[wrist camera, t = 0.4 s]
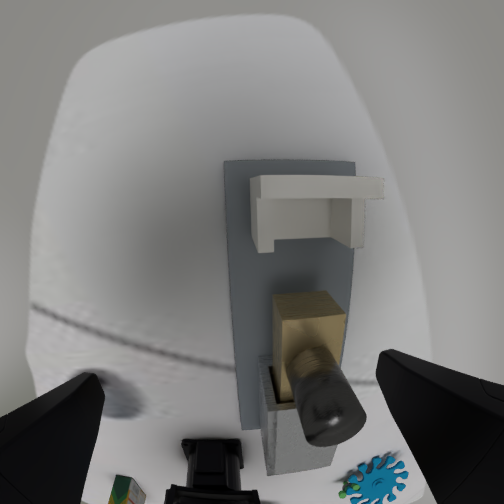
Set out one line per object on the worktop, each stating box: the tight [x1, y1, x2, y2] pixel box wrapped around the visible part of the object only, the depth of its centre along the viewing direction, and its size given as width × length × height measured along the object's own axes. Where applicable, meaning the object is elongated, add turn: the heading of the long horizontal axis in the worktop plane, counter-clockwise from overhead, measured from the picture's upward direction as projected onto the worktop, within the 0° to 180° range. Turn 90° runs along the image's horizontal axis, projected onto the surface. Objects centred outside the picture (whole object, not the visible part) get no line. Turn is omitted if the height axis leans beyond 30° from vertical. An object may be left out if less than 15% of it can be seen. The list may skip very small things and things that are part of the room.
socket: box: [250, 175, 384, 253], centre depth 15 cm, size 4×6×6 cm, turn 92°
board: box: [224, 160, 356, 430], centre depth 21 cm, size 24×9×1 cm, turn 2°
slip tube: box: [272, 290, 367, 447], centre depth 15 cm, size 14×4×9 cm, turn 2°
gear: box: [338, 456, 409, 504], centre depth 28 cm, size 11×6×10 cm
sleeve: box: [258, 355, 338, 476], centre depth 19 cm, size 9×5×6 cm, turn 2°
